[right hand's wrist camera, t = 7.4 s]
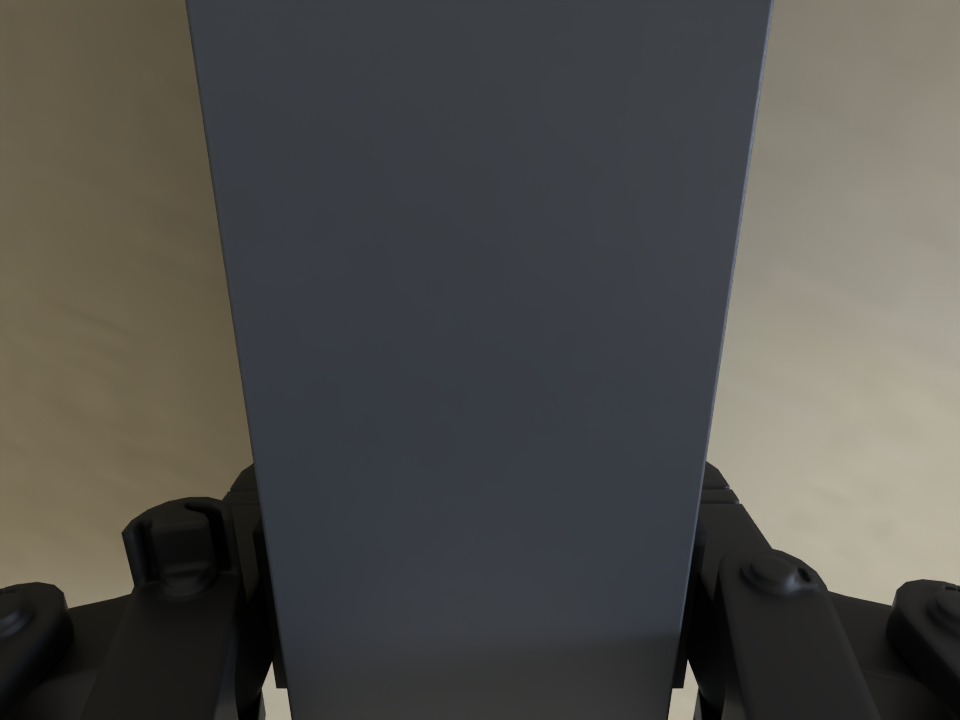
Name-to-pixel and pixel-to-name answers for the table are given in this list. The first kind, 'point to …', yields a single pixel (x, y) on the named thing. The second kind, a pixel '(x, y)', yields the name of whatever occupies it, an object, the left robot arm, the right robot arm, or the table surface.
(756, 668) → the right robot arm
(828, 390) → the table surface
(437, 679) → the post
